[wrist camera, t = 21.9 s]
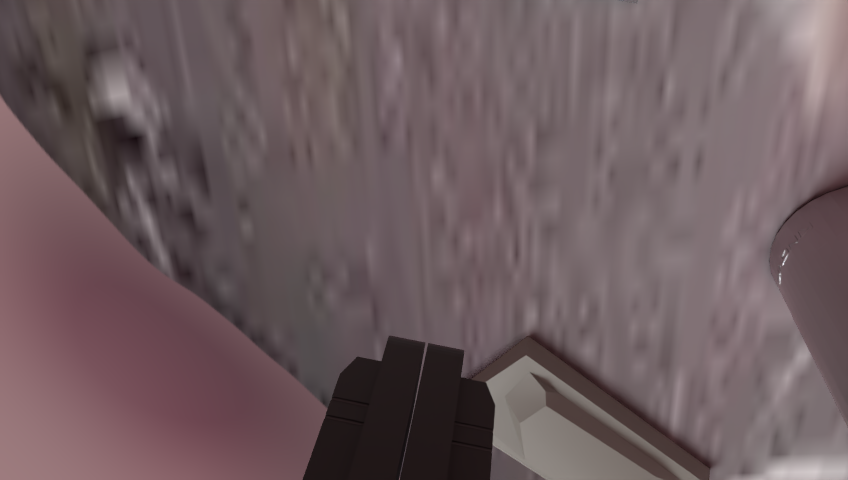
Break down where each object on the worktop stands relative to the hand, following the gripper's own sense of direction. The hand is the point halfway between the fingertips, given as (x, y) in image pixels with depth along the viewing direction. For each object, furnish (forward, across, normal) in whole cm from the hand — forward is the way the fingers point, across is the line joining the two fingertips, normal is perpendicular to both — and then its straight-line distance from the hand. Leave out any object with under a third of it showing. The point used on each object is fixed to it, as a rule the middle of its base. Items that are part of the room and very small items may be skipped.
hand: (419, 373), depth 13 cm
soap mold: (+28, -13, +31) cm, 44 cm away
